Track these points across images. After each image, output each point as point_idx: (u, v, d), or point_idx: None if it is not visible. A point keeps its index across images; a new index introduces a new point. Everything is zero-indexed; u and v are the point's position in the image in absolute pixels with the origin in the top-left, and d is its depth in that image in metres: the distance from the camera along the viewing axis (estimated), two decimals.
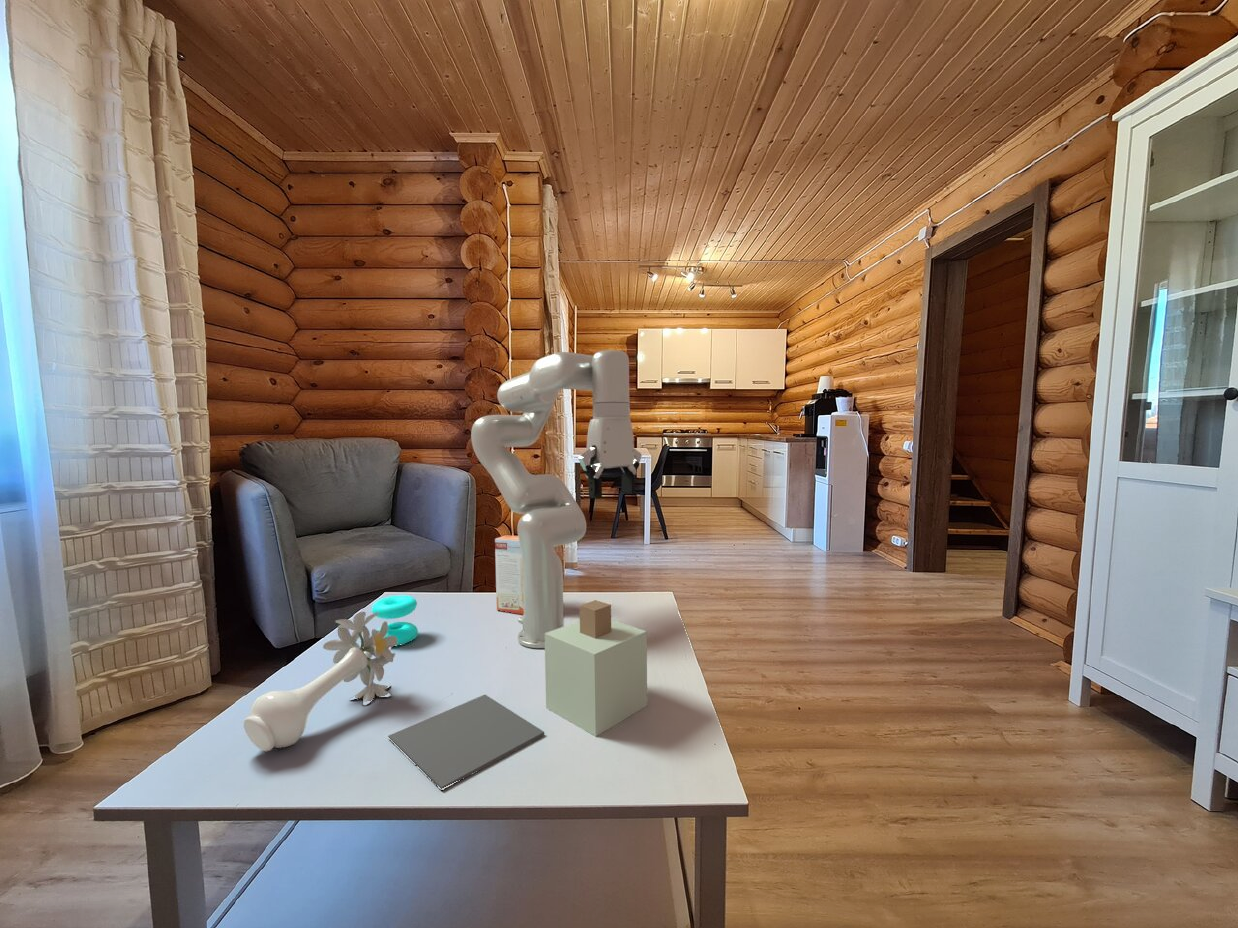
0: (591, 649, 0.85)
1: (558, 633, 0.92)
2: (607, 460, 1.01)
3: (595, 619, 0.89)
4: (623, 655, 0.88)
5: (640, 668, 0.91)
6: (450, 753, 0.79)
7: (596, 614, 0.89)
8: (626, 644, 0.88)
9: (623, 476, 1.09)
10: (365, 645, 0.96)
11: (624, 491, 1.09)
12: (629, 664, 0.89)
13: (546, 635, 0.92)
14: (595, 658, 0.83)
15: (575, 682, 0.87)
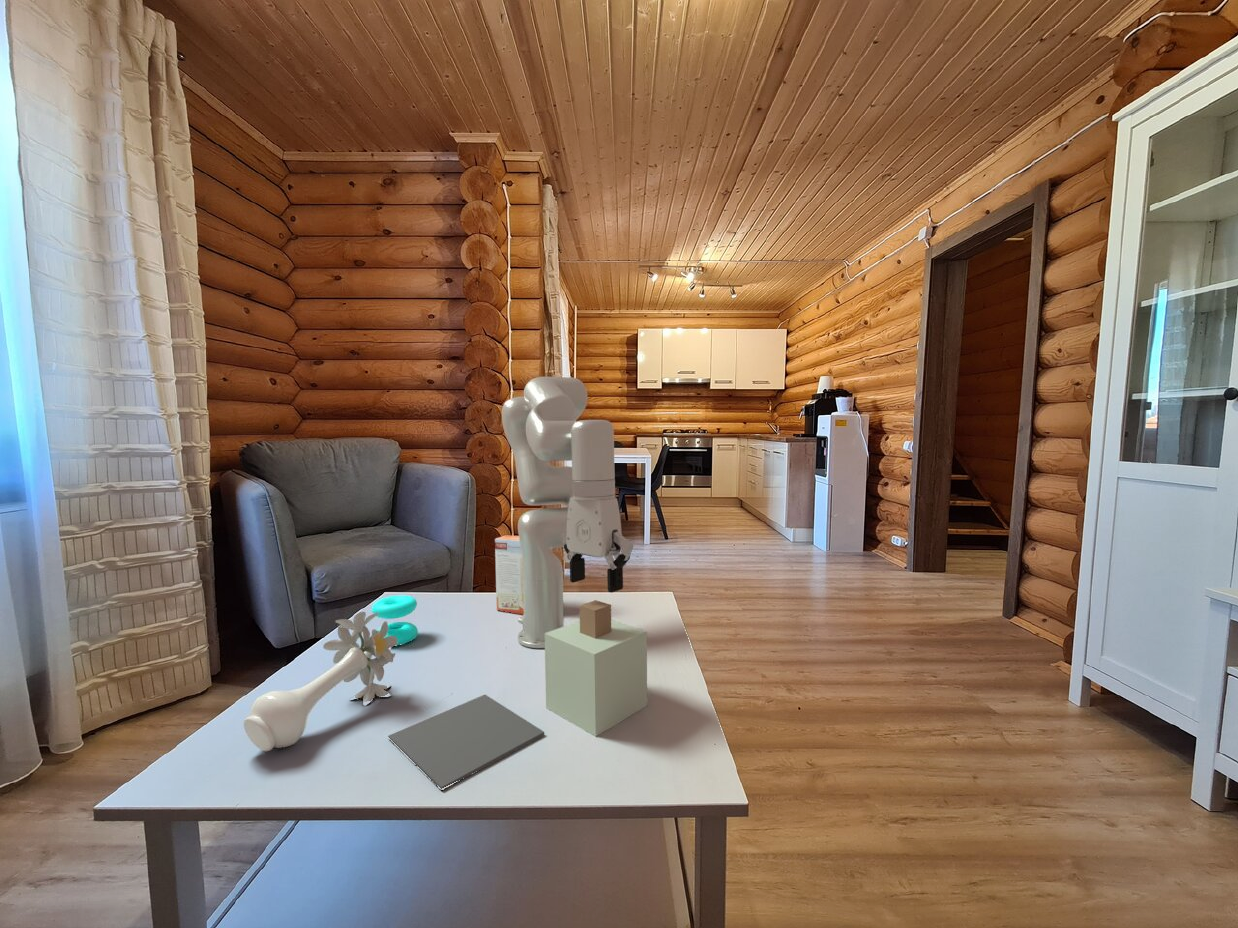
0: (591, 649, 0.85)
1: (558, 633, 0.92)
2: None
3: (595, 619, 0.89)
4: (623, 655, 0.88)
5: (640, 668, 0.91)
6: (450, 753, 0.79)
7: (596, 614, 0.89)
8: (626, 644, 0.88)
9: (574, 562, 0.93)
10: (365, 645, 0.96)
11: (576, 579, 0.94)
12: (629, 664, 0.89)
13: (546, 635, 0.92)
14: (595, 658, 0.83)
15: (575, 682, 0.87)
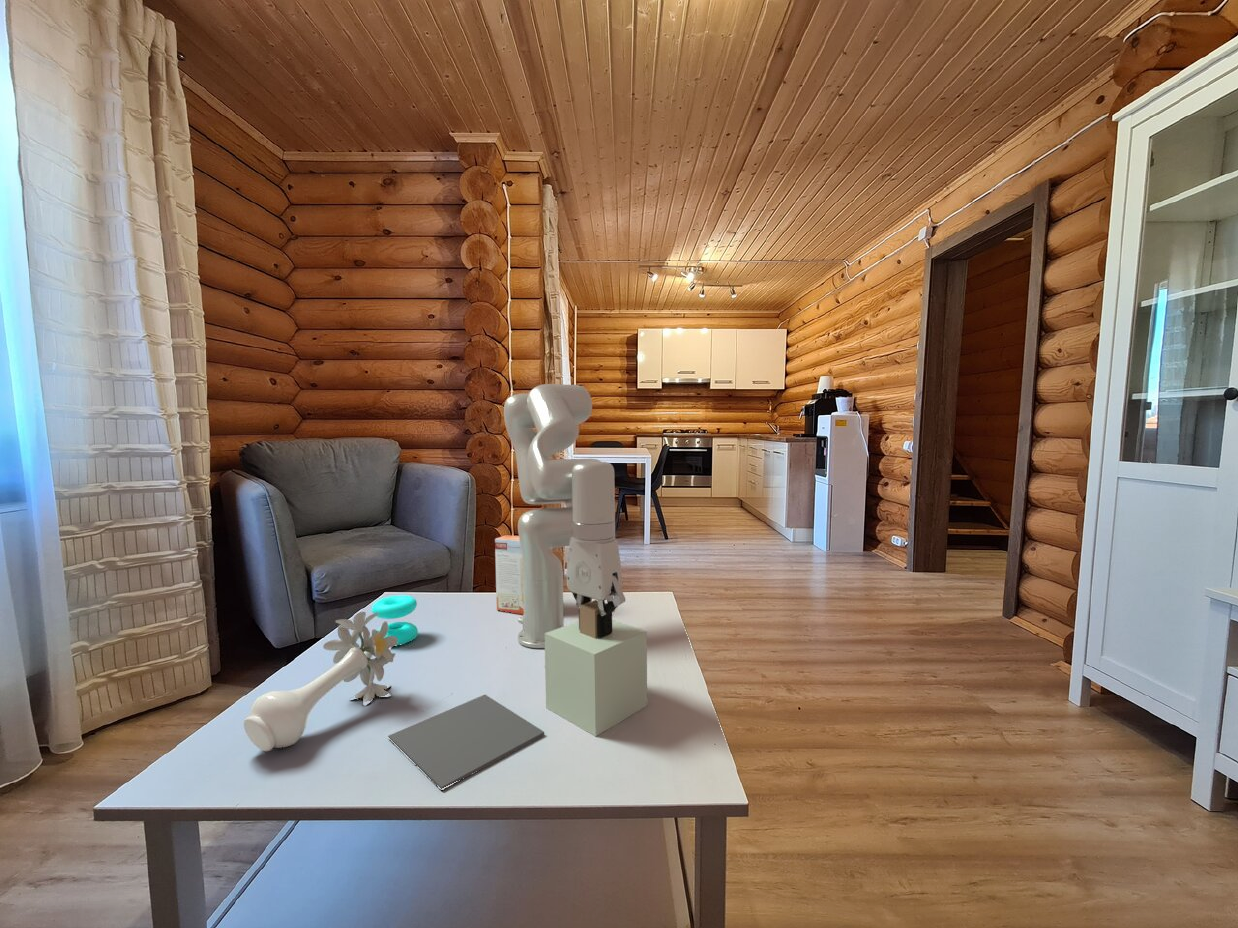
0: (591, 649, 0.85)
1: (558, 633, 0.92)
2: None
3: (595, 619, 0.89)
4: (623, 655, 0.88)
5: (640, 668, 0.91)
6: (450, 753, 0.79)
7: (596, 614, 0.89)
8: (626, 644, 0.88)
9: None
10: (365, 645, 0.96)
11: None
12: (629, 664, 0.89)
13: (546, 635, 0.92)
14: (595, 658, 0.83)
15: (575, 682, 0.87)
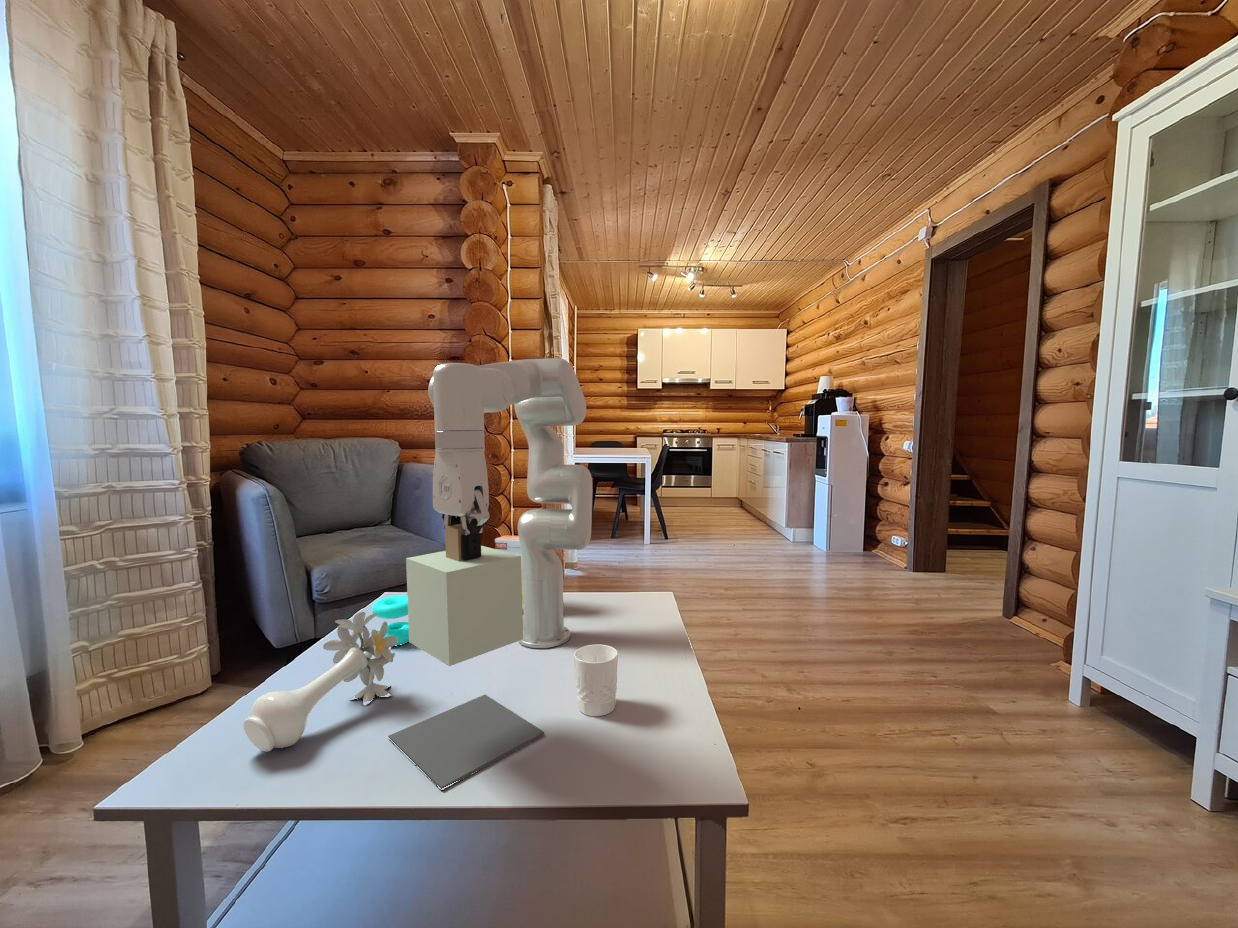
0: (446, 569, 0.75)
1: (421, 558, 0.82)
2: None
3: (458, 540, 0.79)
4: (488, 579, 0.78)
5: (513, 596, 0.82)
6: (450, 753, 0.79)
7: (459, 534, 0.79)
8: (492, 567, 0.79)
9: None
10: (365, 645, 0.96)
11: None
12: (497, 590, 0.80)
13: (407, 560, 0.82)
14: (447, 577, 0.73)
15: (431, 608, 0.77)
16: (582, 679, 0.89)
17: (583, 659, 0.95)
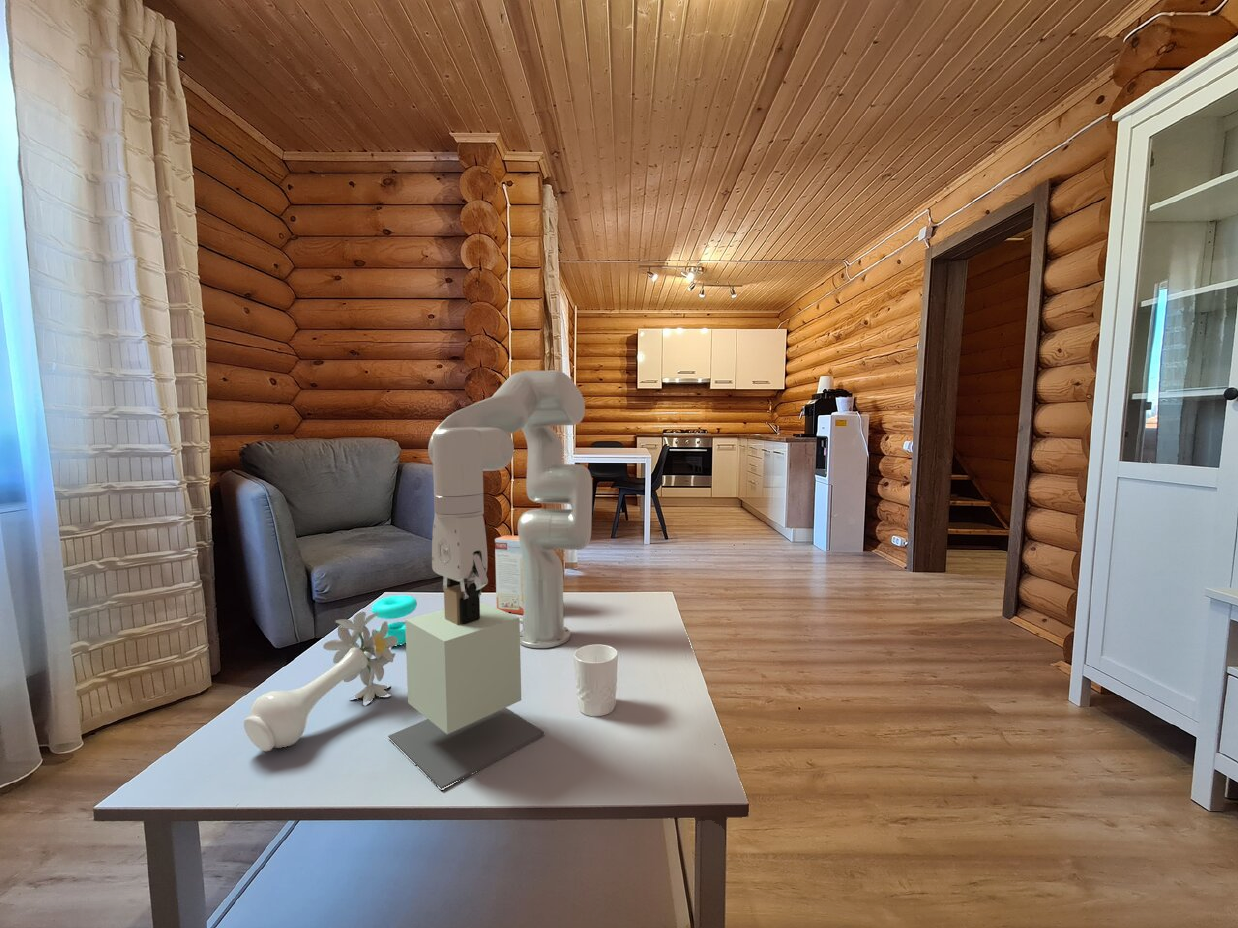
0: (444, 636, 0.75)
1: (420, 619, 0.82)
2: None
3: (457, 604, 0.80)
4: (486, 643, 0.79)
5: (511, 658, 0.82)
6: (450, 753, 0.79)
7: (458, 598, 0.80)
8: (490, 631, 0.79)
9: None
10: (365, 645, 0.96)
11: None
12: (495, 653, 0.80)
13: (406, 621, 0.82)
14: (446, 646, 0.74)
15: (430, 673, 0.77)
16: (582, 679, 0.89)
17: (583, 659, 0.95)
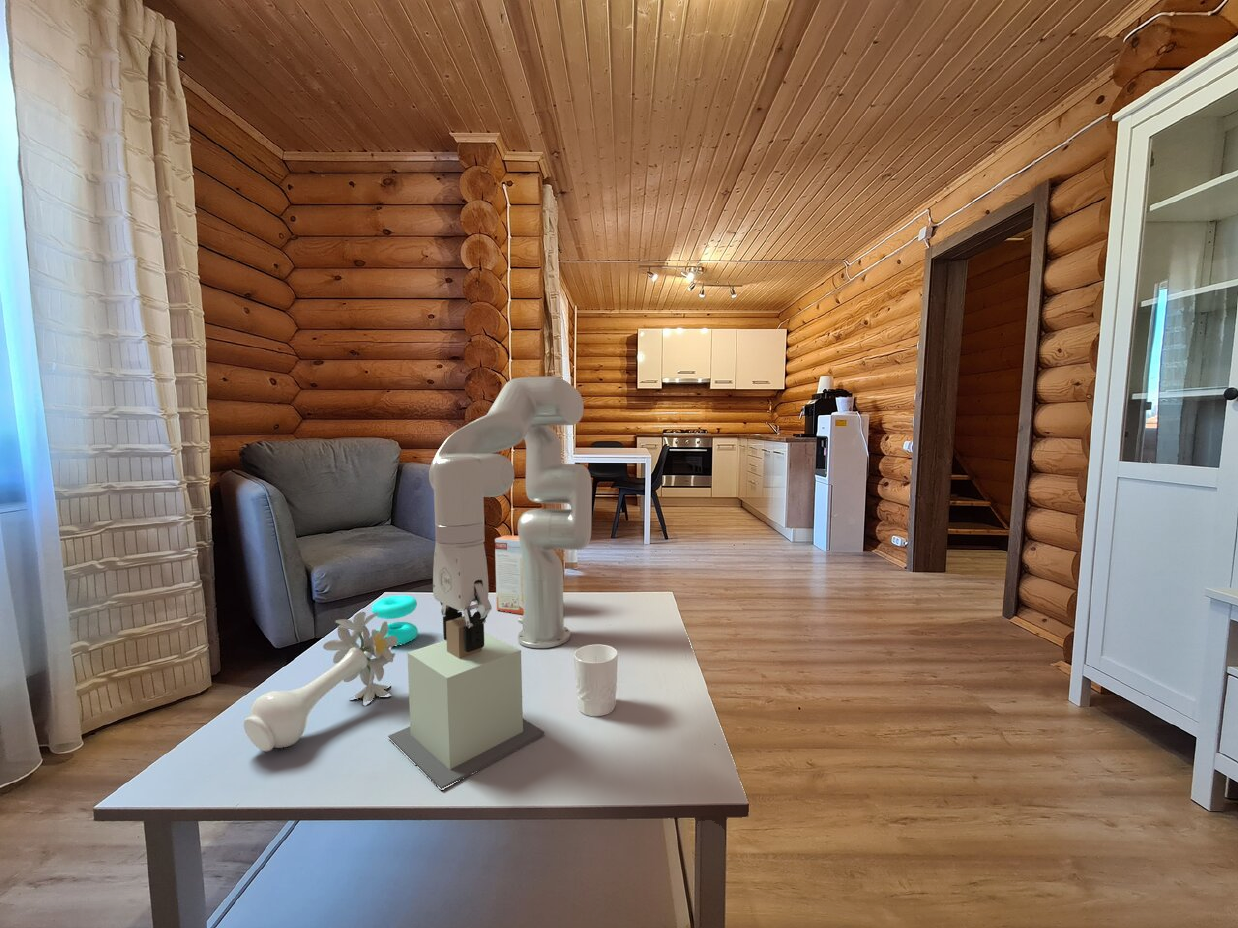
0: (447, 672, 0.76)
1: (423, 652, 0.83)
2: None
3: (459, 638, 0.80)
4: (488, 677, 0.79)
5: (513, 691, 0.83)
6: None
7: (460, 632, 0.80)
8: (492, 665, 0.80)
9: (448, 618, 0.84)
10: (365, 645, 0.96)
11: None
12: (497, 687, 0.80)
13: (409, 654, 0.83)
14: (448, 682, 0.74)
15: (432, 708, 0.78)
16: (582, 679, 0.89)
17: (583, 659, 0.95)
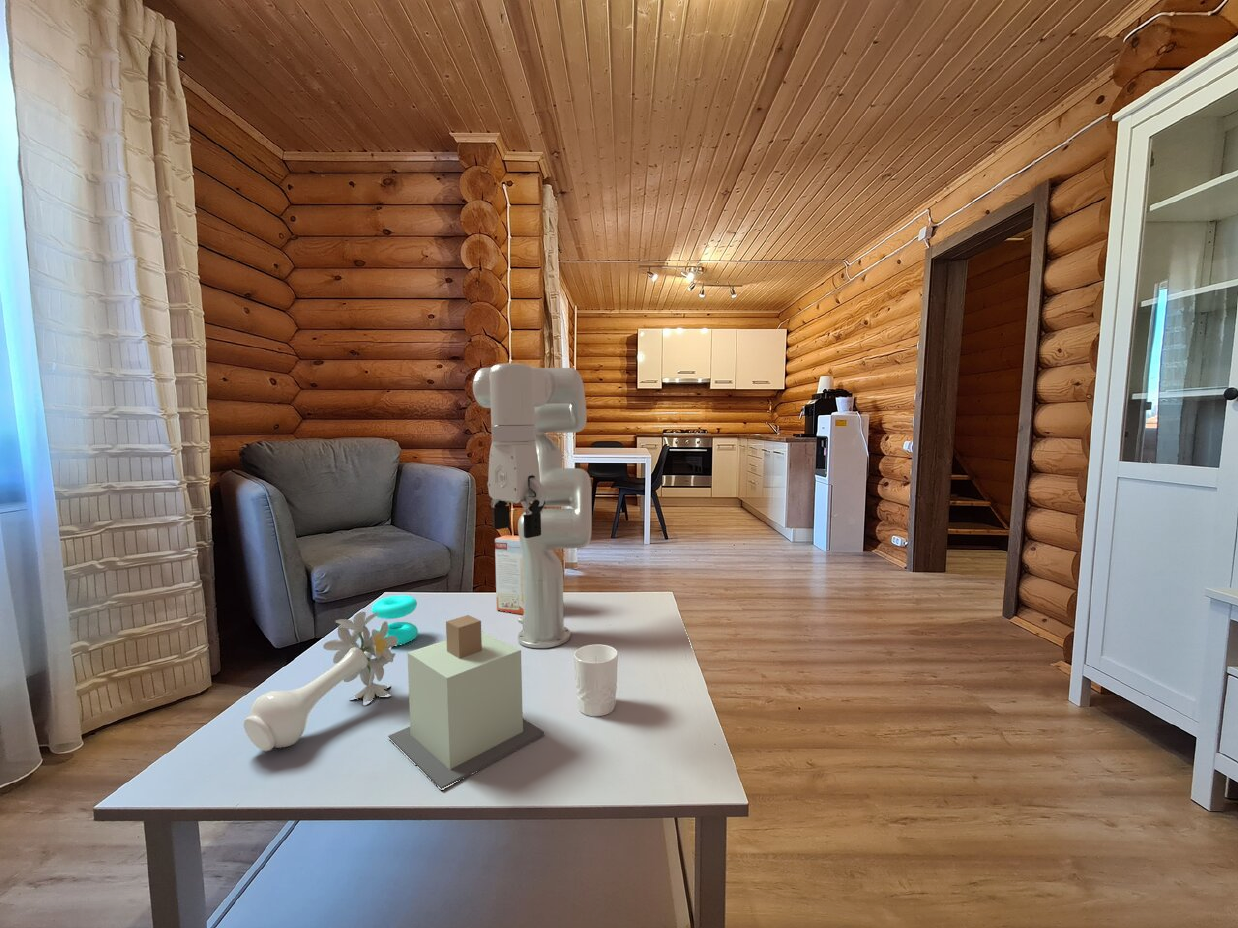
0: (447, 672, 0.76)
1: (423, 652, 0.83)
2: None
3: (459, 638, 0.80)
4: (488, 677, 0.79)
5: (513, 691, 0.83)
6: None
7: (460, 632, 0.80)
8: (492, 665, 0.80)
9: (498, 509, 0.93)
10: (365, 645, 0.96)
11: (499, 527, 0.93)
12: (497, 687, 0.80)
13: (409, 654, 0.83)
14: (448, 682, 0.74)
15: (432, 708, 0.78)
16: (582, 679, 0.89)
17: (583, 659, 0.95)
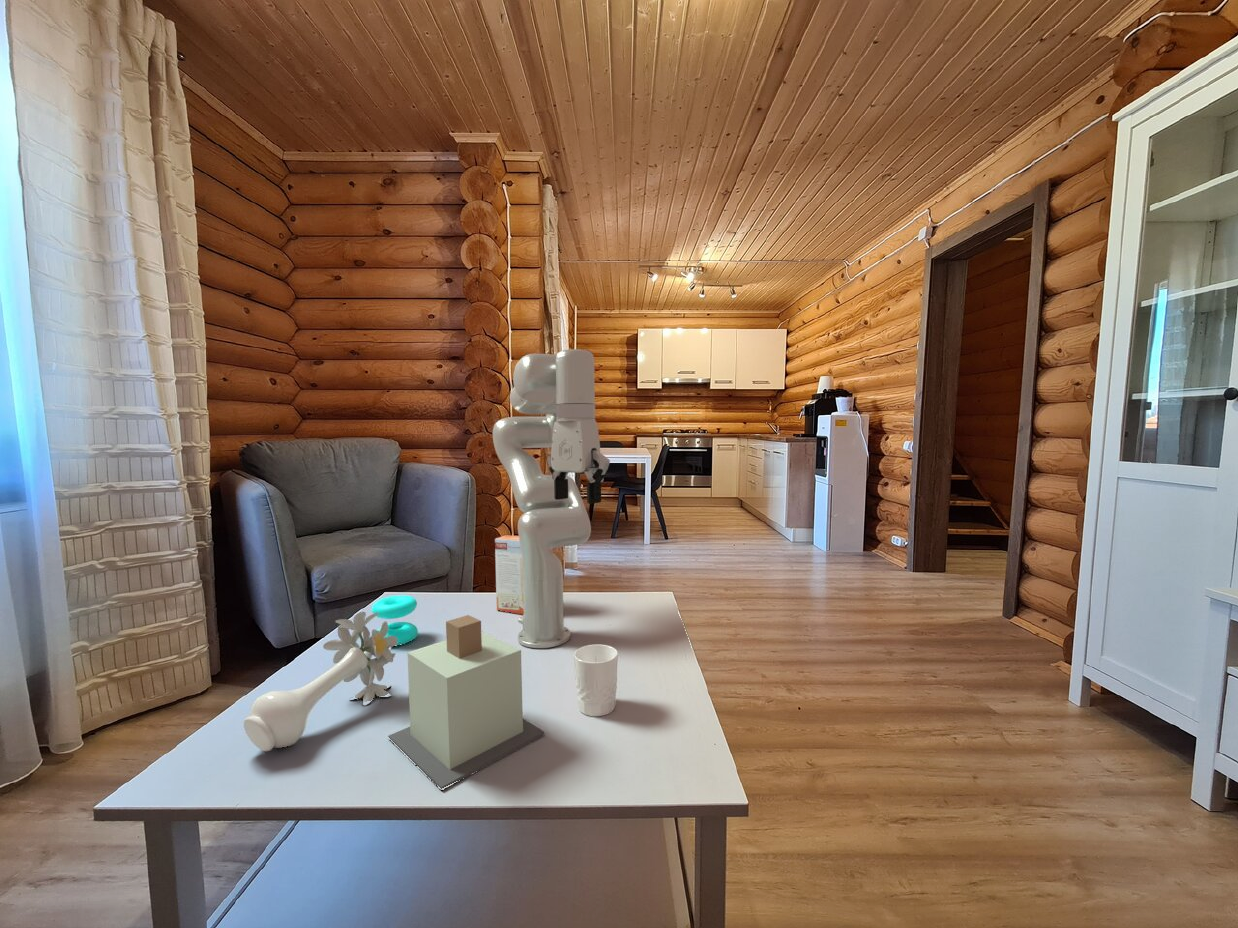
0: (447, 672, 0.76)
1: (423, 652, 0.83)
2: None
3: (459, 638, 0.80)
4: (488, 677, 0.79)
5: (513, 691, 0.83)
6: None
7: (460, 632, 0.80)
8: (492, 665, 0.80)
9: (558, 481, 1.03)
10: (365, 645, 0.96)
11: (560, 497, 1.04)
12: (497, 687, 0.80)
13: (409, 654, 0.83)
14: (448, 682, 0.74)
15: (432, 708, 0.78)
16: (582, 679, 0.89)
17: (583, 659, 0.95)
